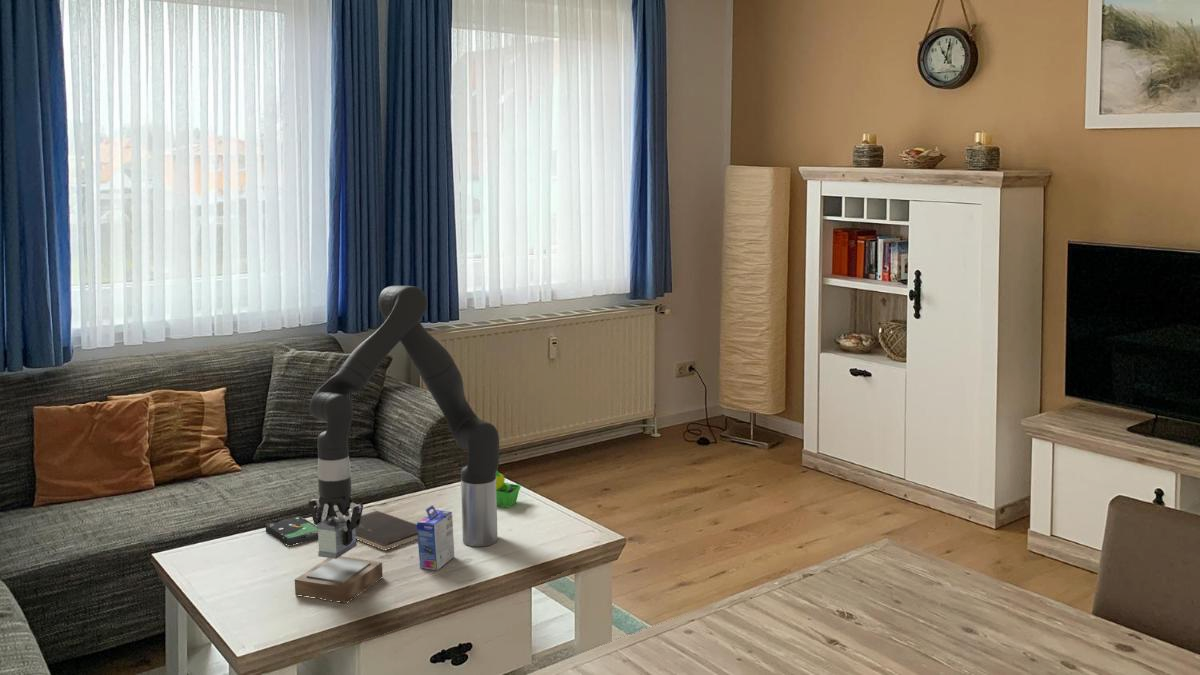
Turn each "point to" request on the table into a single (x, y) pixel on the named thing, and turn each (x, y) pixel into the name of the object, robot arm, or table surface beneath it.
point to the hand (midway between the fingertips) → (337, 543)
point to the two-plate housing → (333, 538)
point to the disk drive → (293, 530)
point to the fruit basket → (505, 491)
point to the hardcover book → (385, 530)
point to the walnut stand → (338, 578)
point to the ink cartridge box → (435, 539)
